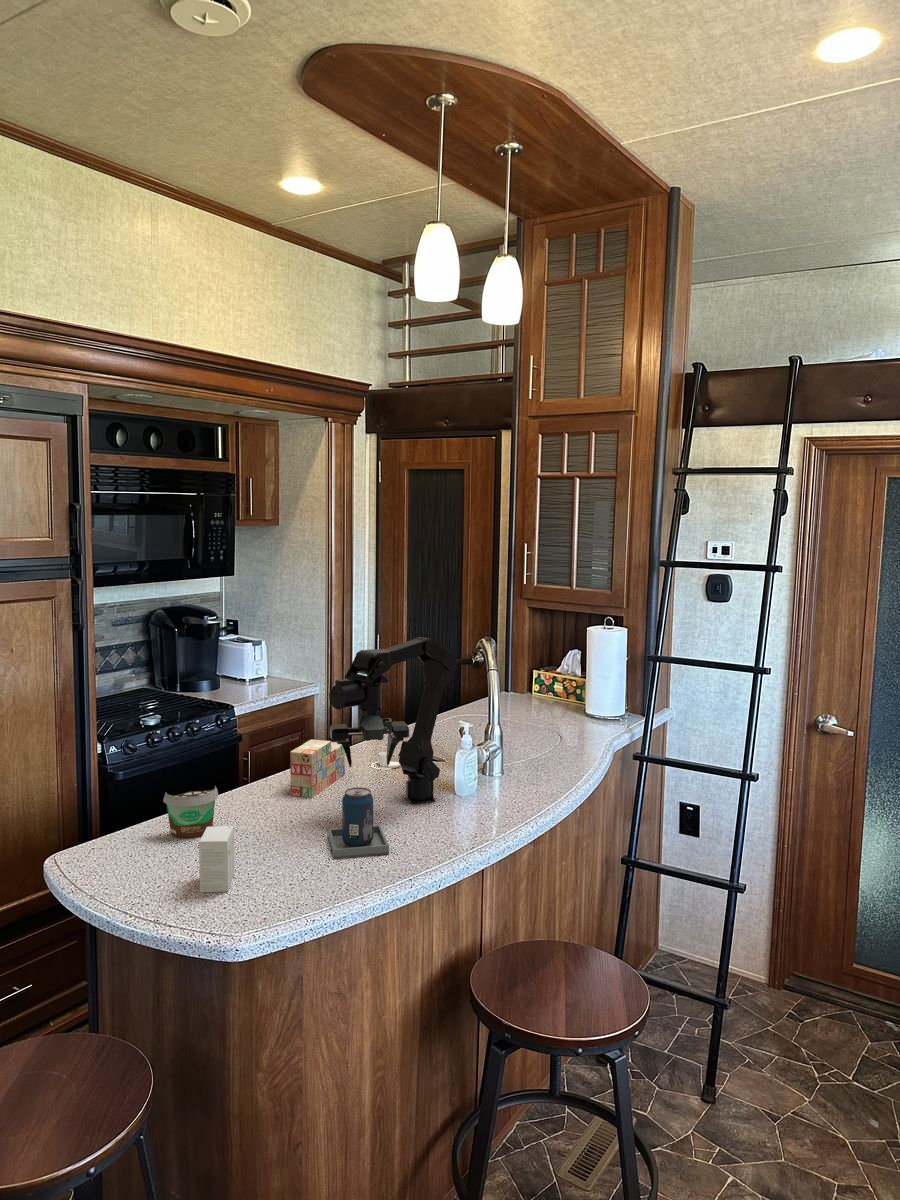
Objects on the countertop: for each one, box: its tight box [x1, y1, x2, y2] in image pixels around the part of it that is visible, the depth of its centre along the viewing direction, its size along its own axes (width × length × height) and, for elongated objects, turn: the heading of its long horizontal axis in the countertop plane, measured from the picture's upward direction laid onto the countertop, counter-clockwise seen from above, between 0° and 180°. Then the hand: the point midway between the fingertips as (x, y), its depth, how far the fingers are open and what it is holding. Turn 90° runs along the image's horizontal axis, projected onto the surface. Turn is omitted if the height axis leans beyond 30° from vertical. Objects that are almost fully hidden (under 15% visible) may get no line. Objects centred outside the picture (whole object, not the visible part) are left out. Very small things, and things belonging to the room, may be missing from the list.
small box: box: [198, 825, 236, 893], centre depth 166 cm, size 8×6×10 cm
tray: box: [327, 824, 390, 860], centre depth 187 cm, size 12×12×2 cm
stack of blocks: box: [289, 739, 346, 799], centre depth 227 cm, size 21×6×12 cm, turn 163°
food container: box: [163, 785, 219, 840], centre depth 191 cm, size 12×6×10 cm, turn 117°
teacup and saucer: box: [370, 751, 401, 771], centre depth 245 cm, size 9×8×4 cm
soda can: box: [341, 786, 374, 848], centre depth 186 cm, size 7×7×12 cm
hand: (369, 765), depth 203 cm, fingers open, 9 cm apart
